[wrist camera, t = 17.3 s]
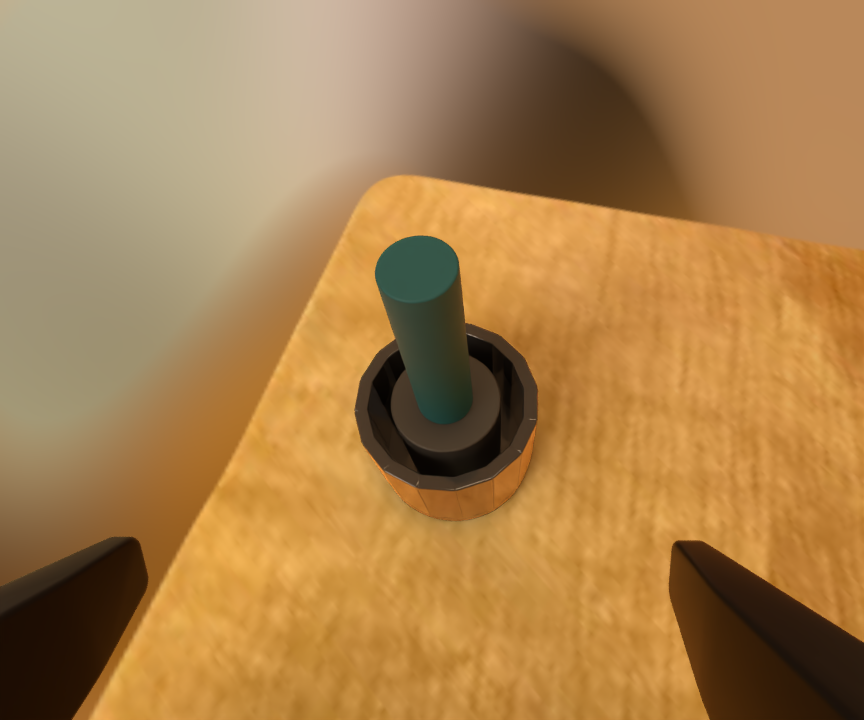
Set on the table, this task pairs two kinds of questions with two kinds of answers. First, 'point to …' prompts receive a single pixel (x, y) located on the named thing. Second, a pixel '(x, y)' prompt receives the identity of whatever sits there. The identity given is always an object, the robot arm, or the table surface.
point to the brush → (437, 362)
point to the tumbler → (470, 489)
